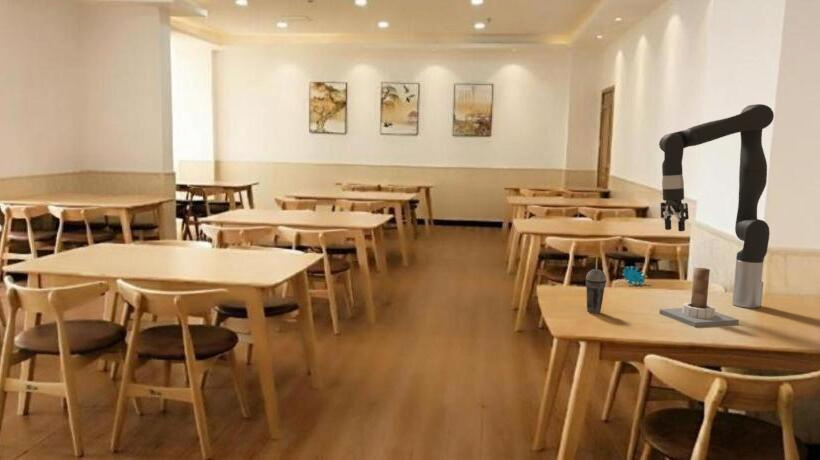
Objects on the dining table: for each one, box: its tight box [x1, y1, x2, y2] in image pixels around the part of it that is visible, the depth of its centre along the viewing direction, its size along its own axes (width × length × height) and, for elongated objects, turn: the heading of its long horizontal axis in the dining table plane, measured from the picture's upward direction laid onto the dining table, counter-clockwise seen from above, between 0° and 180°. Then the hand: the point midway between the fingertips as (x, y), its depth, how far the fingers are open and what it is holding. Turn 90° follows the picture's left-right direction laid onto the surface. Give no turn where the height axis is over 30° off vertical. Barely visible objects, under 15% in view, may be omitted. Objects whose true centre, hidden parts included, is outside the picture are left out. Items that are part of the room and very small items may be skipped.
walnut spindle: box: [690, 267, 711, 309], centre depth 234 cm, size 5×5×16 cm
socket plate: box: [658, 302, 740, 328], centre depth 235 cm, size 18×18×4 cm
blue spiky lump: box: [622, 265, 648, 287], centre depth 292 cm, size 11×6×10 cm
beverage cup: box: [585, 256, 607, 315], centre depth 238 cm, size 7×7×20 cm
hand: (674, 230), depth 254 cm, fingers open, 8 cm apart
